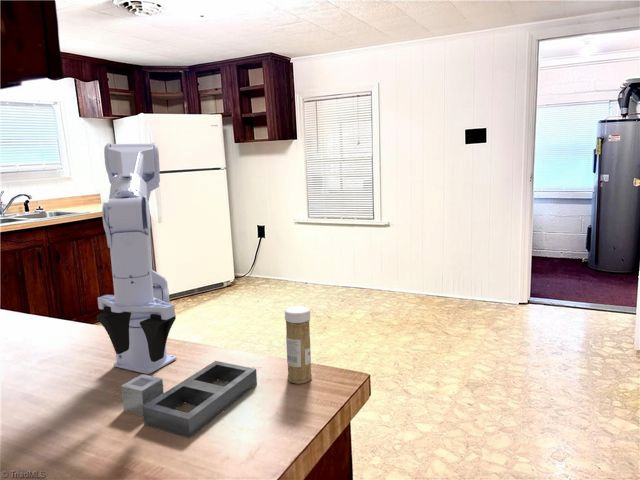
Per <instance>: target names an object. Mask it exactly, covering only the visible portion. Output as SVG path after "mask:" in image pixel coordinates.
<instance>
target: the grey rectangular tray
mask: <svg viewBox="0 0 640 480" xmlns="http://www.w3.org/2000/svg"><path fill="white" fill-rule="evenodd" d="M257 377H258V376H257V369H256V368H253V367H248V366H243V365H237V364H233V363H228V362H223V361H219V360H214V361H213V362H211V363H209V364H208V365H206V366H205V367H204V368H202V369H200V370H198V371H197V372H195V373H194V374H192V375H190V376H189V377H187V378H185V379H184V380H183V381H181V382H179V383H177V384H176V385H174V386H173V387H171V388H170V389H168V390H167V391H165V392H164V393H163V394H162V395H160V396H159V397H157V398H155V399H154V400H152V401H151V402H149V403H147V404H146V405H144V406H143V416H142V417H143V425H144V426H148V427H152V428H155V429H158V430H161V431H165V432H169V433H173V434H175V435H178V436H182V437H186V438H189V439H191V438H192V437H194V436H195V435H196V434H197V433H198V432H199V431H201V430H202V429H203V428H204V427H206V426H207V425H209V423H211V422H212V421H213V420H215V419H216V418H217V417H218V416H220V415H221V414H222V413H223V412H225V411H226V410H227V409H228V408H231V406H232V405H233V404H235V403H236V402H238V400H240V399H241V398H242V397H243V396H245V395H247V393H249V392H250V391H251V390H252V389H254V388H255V387H256V386H257V385H258V378H257ZM217 381H222V382H226V383H228V384H226V385H225V386H222V385H217V384H214V383H215V382H217ZM183 404H188V405H191V406H195V407H194V408H193V409H191V410H190V411H189V412H184V411H180V410H178V409H177V408H179V407H180V406H182V405H183ZM176 409H177V410H176Z"/></svg>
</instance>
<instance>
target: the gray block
mask: <svg viewBox="0 0 640 480" xmlns="http://www.w3.org/2000/svg"><path fill="white" fill-rule="evenodd" d="M120 387H121V399H122V400H121V401H122V407H123V410H122V411H123V412H127V413H128V414H134V415H137V416H140V417H143V406H144V405H146V404H147V403H149V402H151V401H152V400H154V399H155V398H157V397H159V396H160V395H162V394H163V393H165V392H164V381H163V378H160V377H157V376H152V375H149V374H145V373H141V374H140V375H138V376H136V377H134V378H133V379H131V380H129V381H128V382H125V383H123V384H121V385H120Z"/></svg>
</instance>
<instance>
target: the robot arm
mask: <svg viewBox="0 0 640 480" xmlns="http://www.w3.org/2000/svg"><path fill="white" fill-rule="evenodd" d="M159 153H160V152H159V146H158V144H156V142H152V143H110V142H109V143H107V144H106V145H105V146H104V148H103V154H104V166H105V171H106V173H107V175H108V176H107V178H108V180H109V184H110V189H109V197H108V202H105V201H104V202H103V203H102V211H101V214H102V224H103V229H104V232H105V236H106V243H107V248H109V249H110V250H109V251H110V252H109V254H110V261H111V274H112V282H113V283H112V285H113V293H114V294H104V295H101V296H100V297H99V296H98V297H97V306H98V309H99V310H103V311H102V312H100V313H98V314H97V315H96V318H97V321H98V322H99V323H100V324H101V325H102V327H103V328H104V330H105V331H106V333H107V335H108V337H109V339H110V342H111V344H112V346H113V349H114V352H115V358H116V362H114V363H113V367H117V368H120V369H124V370H129V371H132V372H137V373H141V374H144V375H150V374H151V373H153V372H155V371H157V370H159V369H161V368H162V367H164V366H166V365H169V364H170V363H172V362H173V361H175V360H177V356H175V355H172V354H168V353H167V340H168V338H169V334H170V330H171V328H172V327H173V324H174V322H175V321H176V314H175V313H176V312H175V304H173V303H170V292H169V286H168V280H167V279H166V277H165V276H164V275H161V274H160V273H159V272H157V271H154V270H153V259H152V258H153V257H152V243H151V242H152V240H151V239H152V238H151V224H152V223H151V210H150V203H149V202H150V198H151V192H153V191H155V190H156V189H158V188H159V187H160V183H161V175H160V173H161V167H160V154H159Z"/></svg>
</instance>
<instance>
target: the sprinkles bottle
mask: <svg viewBox="0 0 640 480" xmlns="http://www.w3.org/2000/svg"><path fill="white" fill-rule="evenodd" d="M284 320H285V329H286V332H285V333H286V335H285V339H286V340H285V341H286V342H285V343H286V345H285V346H286V363H287V381H288V382H290V383H293V384H298V385H300V384H306V383H307V382H310V381H311V380H312V377H313V376H312V367H311V363H312V360H311V359H312V354H311V336H310V335H311V333H310V330H311V329H310V322H311V309H310V307H307V306H303V305H294V306H289V307H286V309H285V310H284Z"/></svg>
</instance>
